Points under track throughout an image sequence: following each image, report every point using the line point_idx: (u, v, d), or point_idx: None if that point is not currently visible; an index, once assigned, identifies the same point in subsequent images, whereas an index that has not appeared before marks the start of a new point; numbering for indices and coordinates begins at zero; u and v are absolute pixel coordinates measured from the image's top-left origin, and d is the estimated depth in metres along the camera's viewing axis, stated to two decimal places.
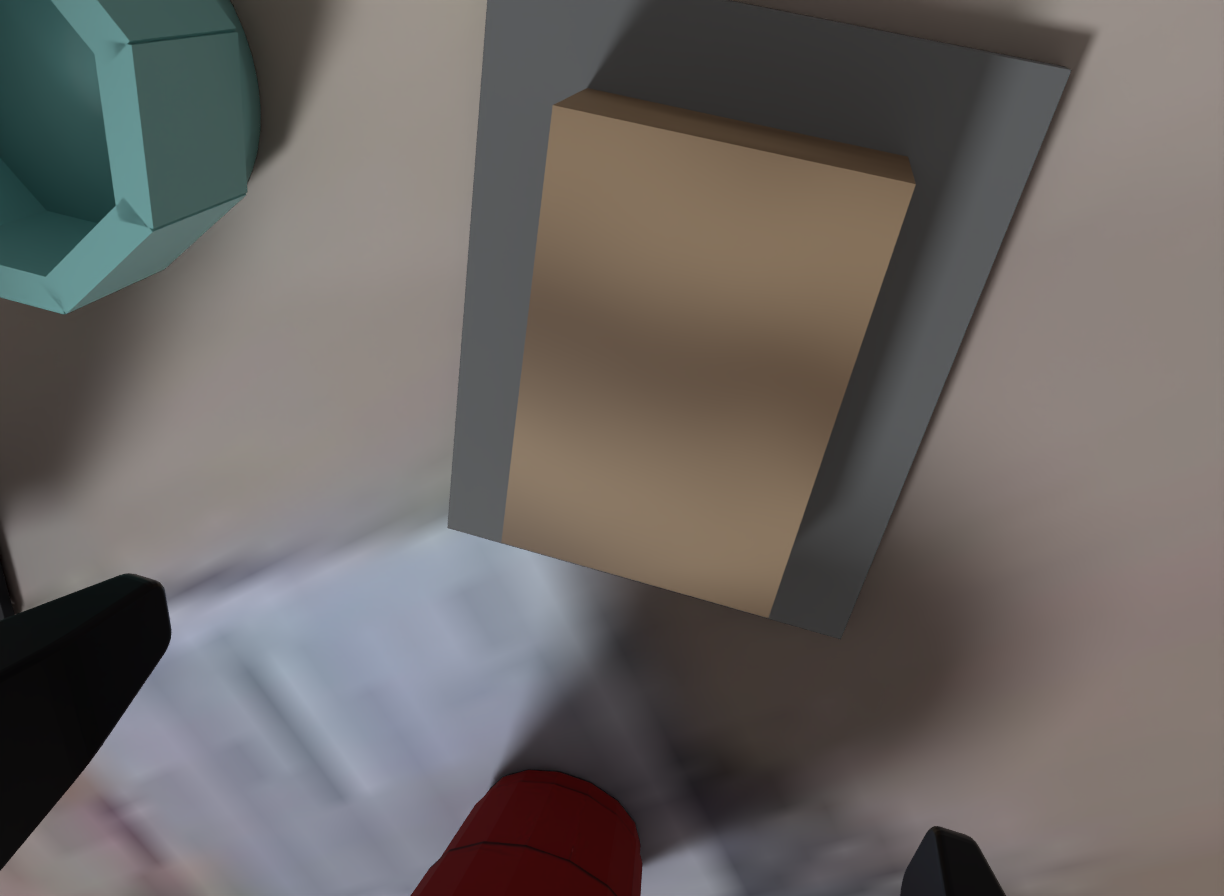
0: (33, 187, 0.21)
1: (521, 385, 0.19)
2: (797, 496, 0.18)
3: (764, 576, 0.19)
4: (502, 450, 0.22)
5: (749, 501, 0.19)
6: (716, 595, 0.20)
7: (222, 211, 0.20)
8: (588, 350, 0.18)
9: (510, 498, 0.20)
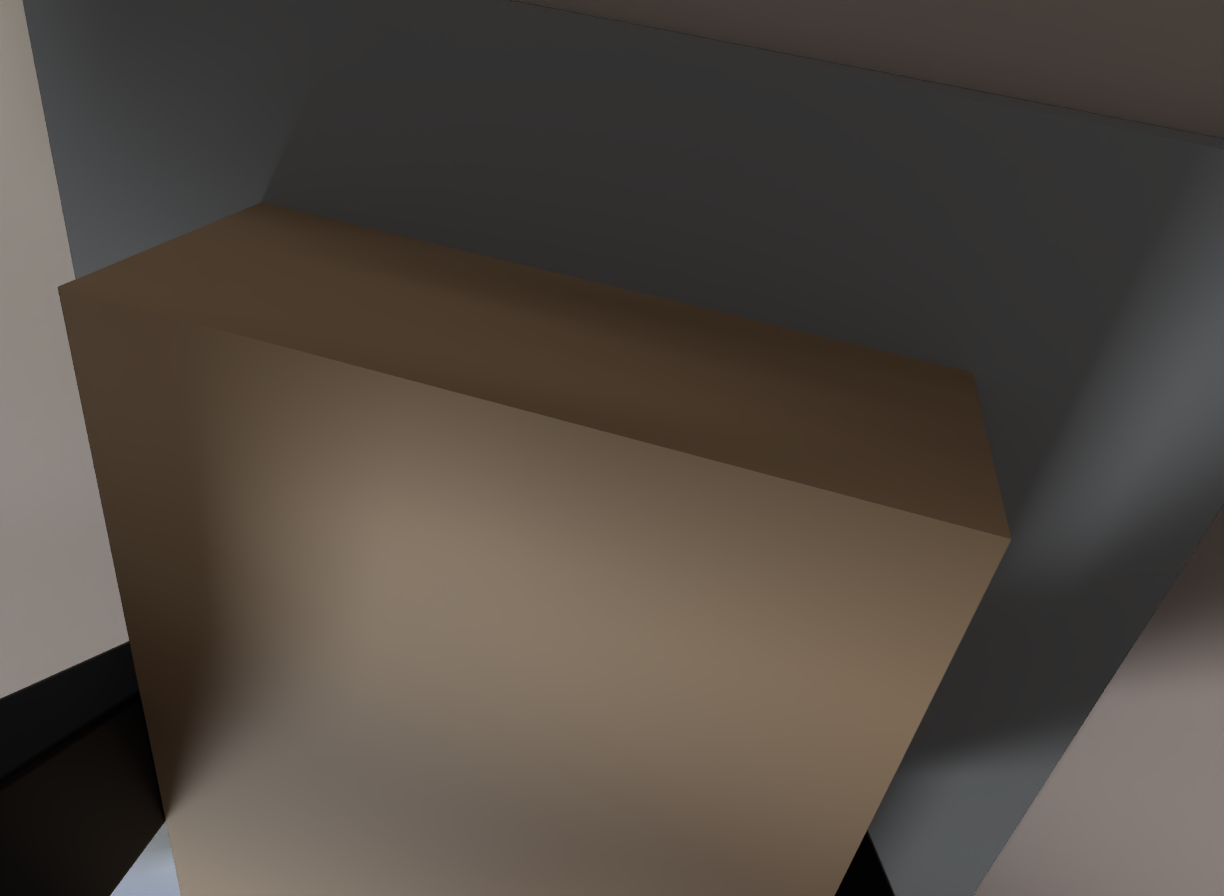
0: None
1: (164, 800, 0.09)
2: None
3: None
4: None
5: None
6: None
7: None
8: (272, 767, 0.08)
9: None
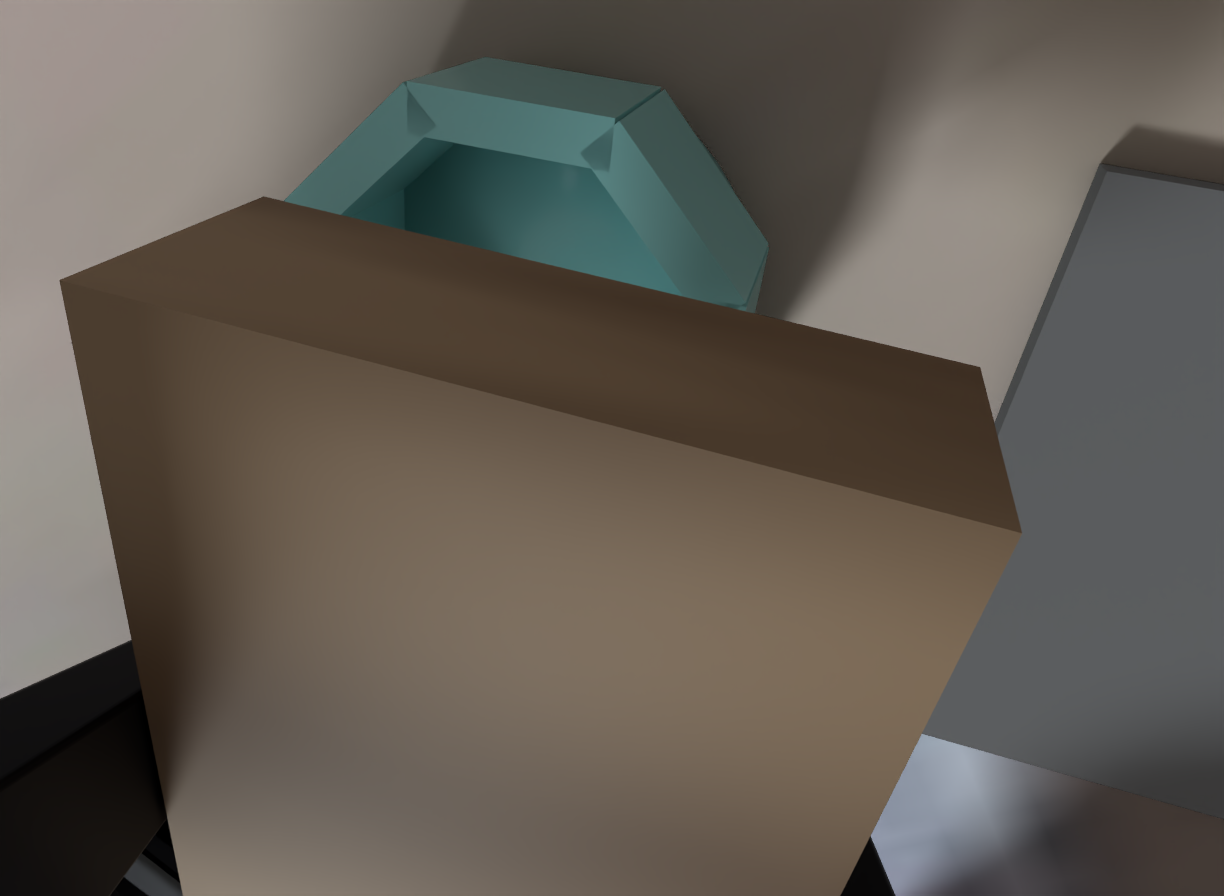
0: None
1: (166, 799, 0.09)
2: None
3: None
4: (970, 653, 0.20)
5: None
6: None
7: None
8: (274, 765, 0.08)
9: None
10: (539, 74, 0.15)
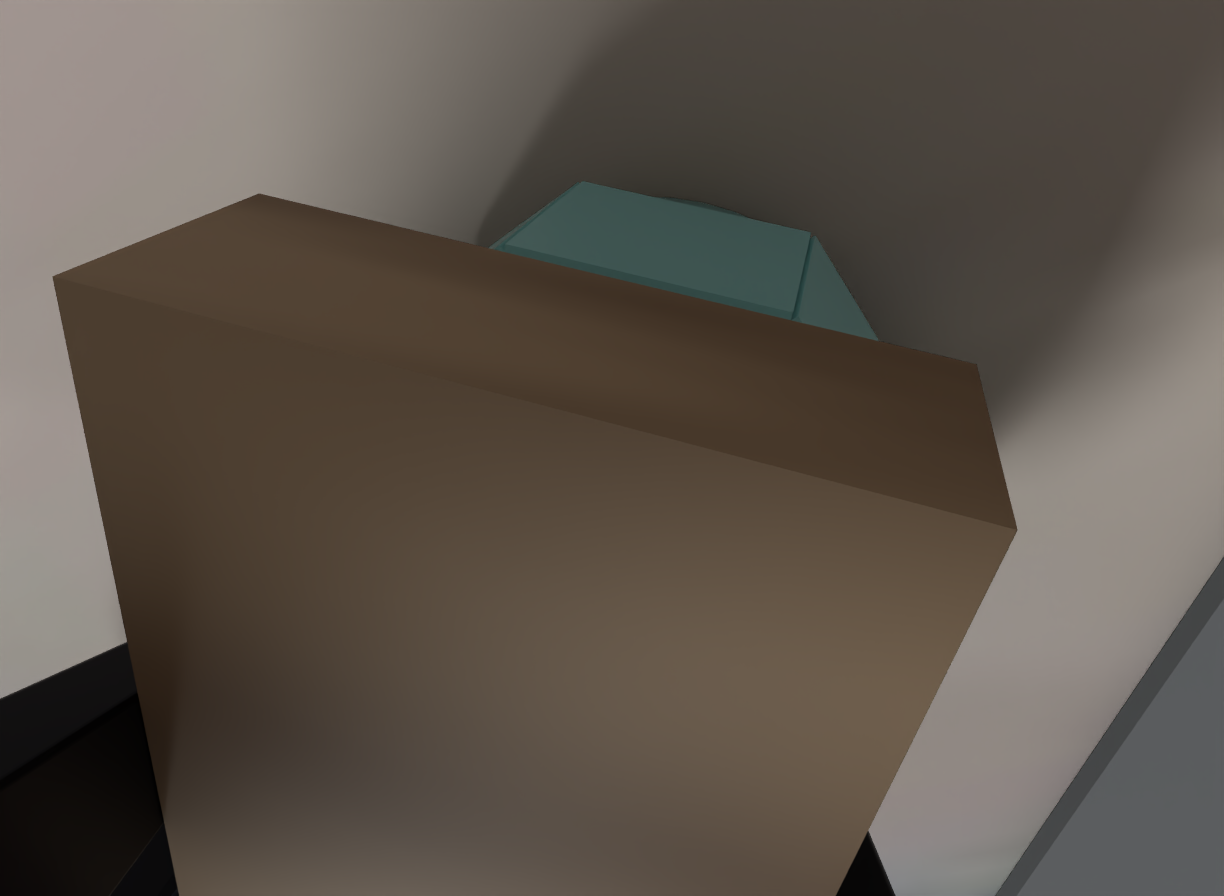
0: None
1: (161, 797, 0.09)
2: None
3: None
4: (1113, 874, 0.17)
5: None
6: None
7: None
8: (270, 762, 0.08)
9: None
10: (659, 215, 0.12)
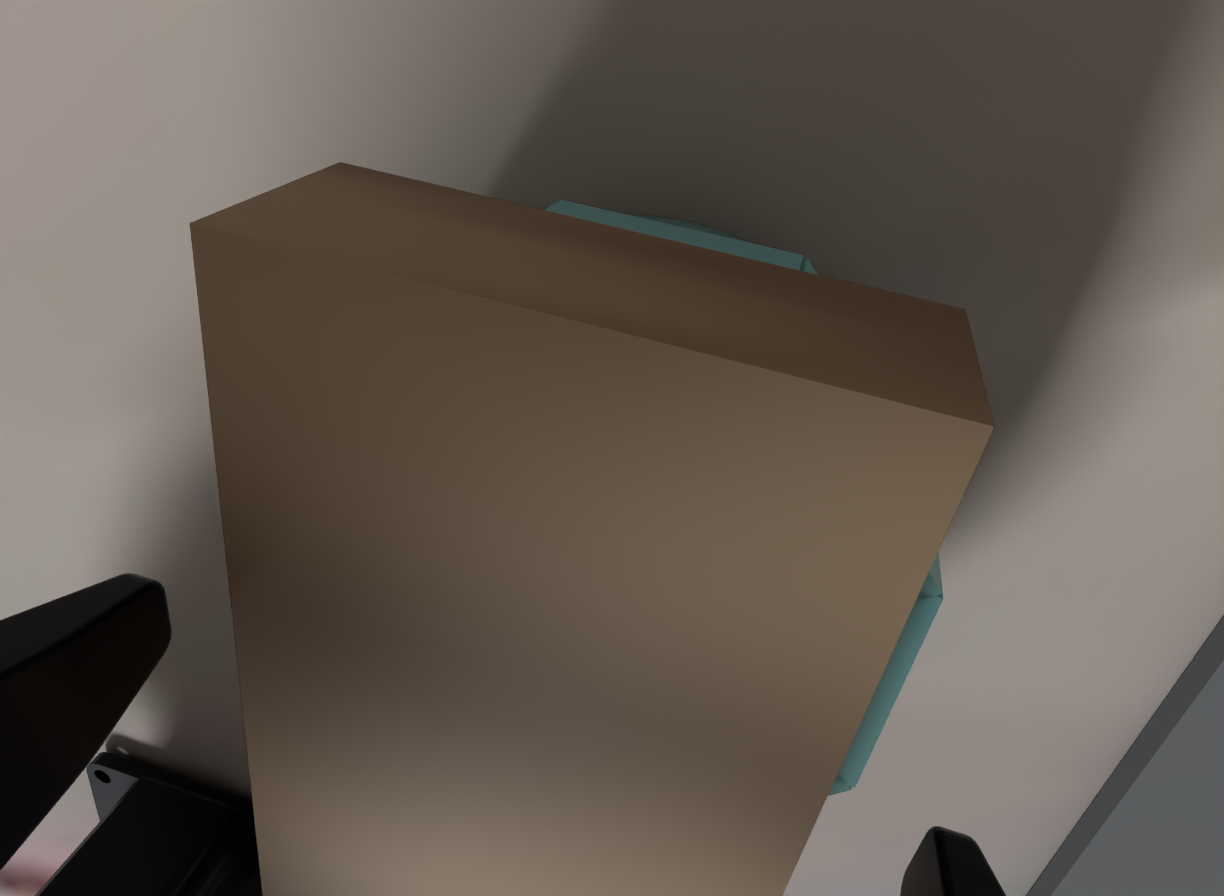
0: None
1: (244, 699, 0.10)
2: None
3: None
4: None
5: None
6: None
7: None
8: (346, 661, 0.09)
9: (264, 849, 0.12)
10: None
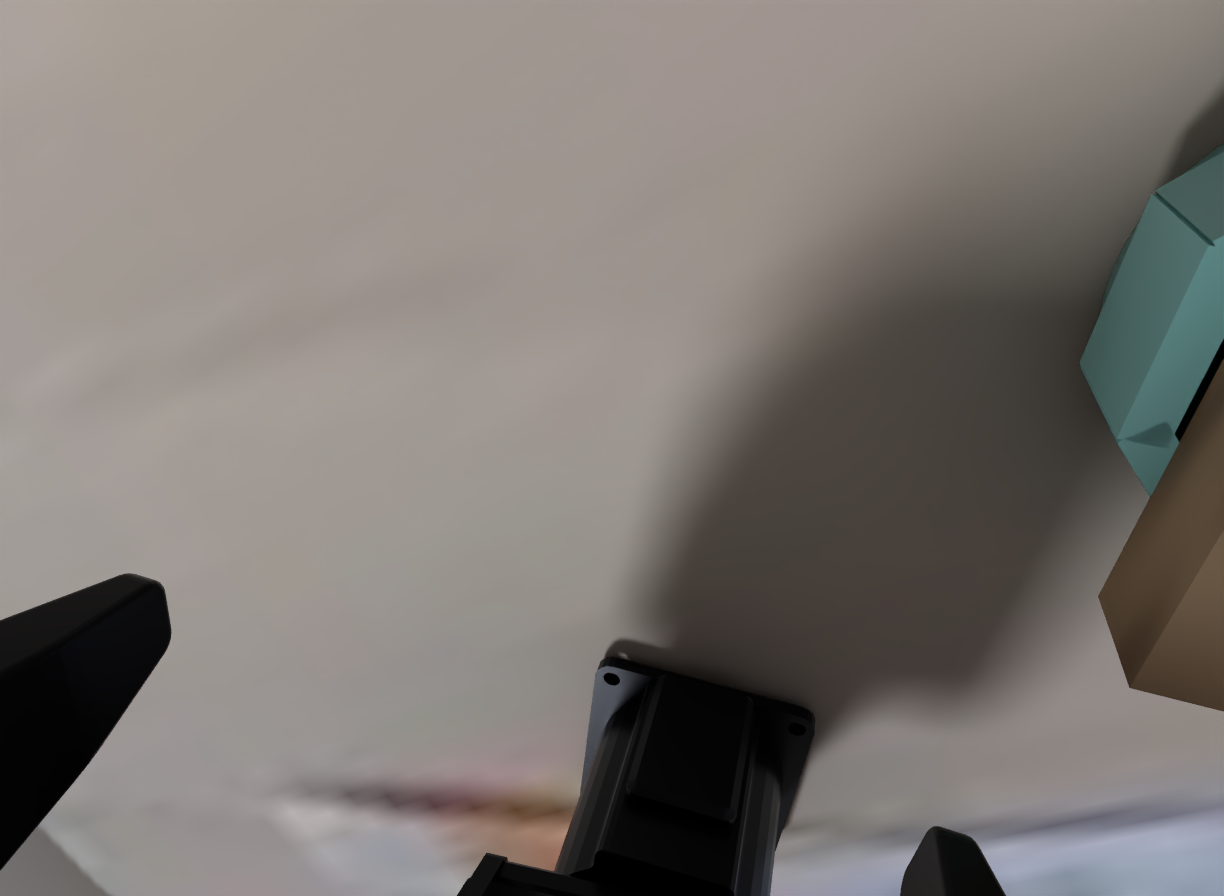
0: None
1: None
2: None
3: None
4: None
5: None
6: None
7: None
8: None
9: (1170, 629, 0.14)
10: None
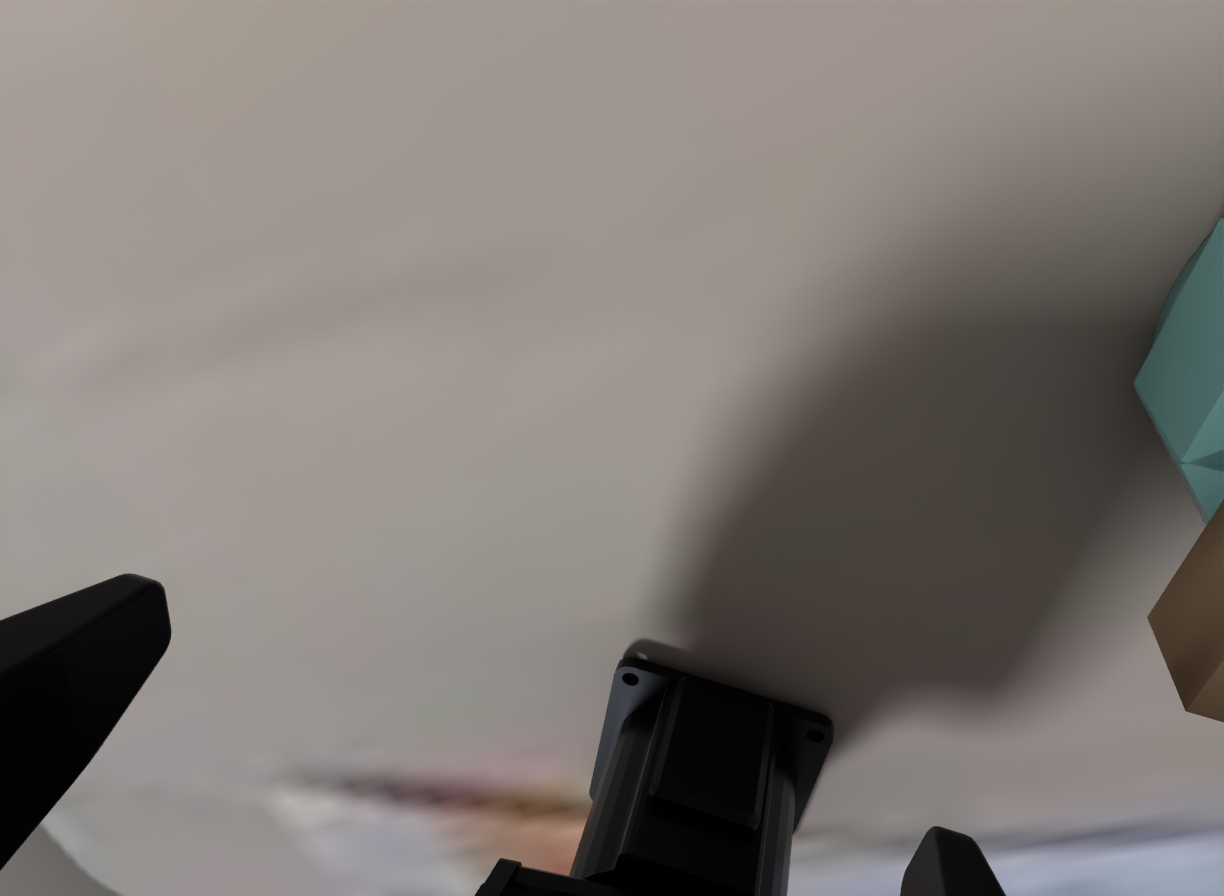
0: None
1: None
2: None
3: None
4: None
5: None
6: None
7: None
8: None
9: None
10: None
